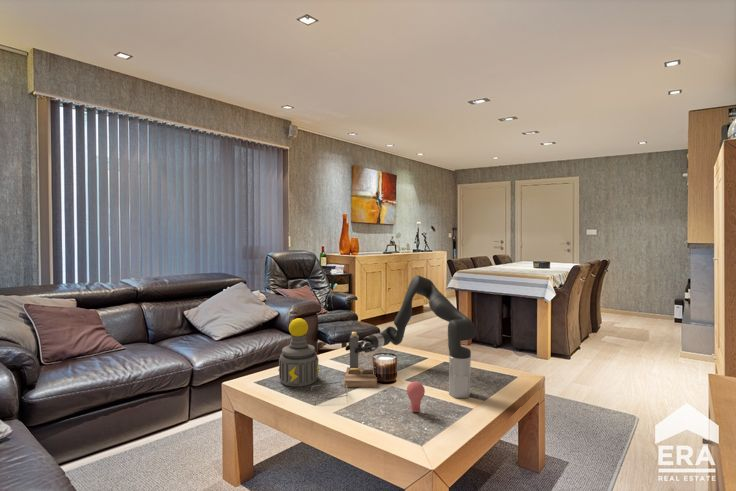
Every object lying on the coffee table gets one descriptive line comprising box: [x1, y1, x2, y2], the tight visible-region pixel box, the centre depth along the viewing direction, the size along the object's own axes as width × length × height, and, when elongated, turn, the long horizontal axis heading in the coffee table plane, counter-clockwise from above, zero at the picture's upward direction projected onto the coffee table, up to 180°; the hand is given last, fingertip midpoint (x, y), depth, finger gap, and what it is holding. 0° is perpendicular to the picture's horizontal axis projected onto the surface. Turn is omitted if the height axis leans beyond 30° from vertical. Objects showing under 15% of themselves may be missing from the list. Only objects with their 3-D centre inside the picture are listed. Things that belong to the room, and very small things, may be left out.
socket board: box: [343, 366, 378, 388], centre depth 207 cm, size 18×15×3 cm
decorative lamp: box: [278, 317, 320, 388], centre depth 205 cm, size 19×19×30 cm
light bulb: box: [406, 381, 426, 413], centre depth 172 cm, size 7×7×12 cm
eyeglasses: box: [310, 379, 349, 406], centre depth 188 cm, size 16×15×5 cm
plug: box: [349, 331, 360, 368], centre depth 208 cm, size 4×4×17 cm
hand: (350, 349), depth 206 cm, fingers closed on plug, 5 cm apart
